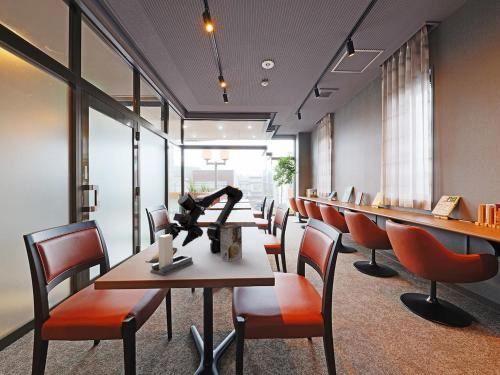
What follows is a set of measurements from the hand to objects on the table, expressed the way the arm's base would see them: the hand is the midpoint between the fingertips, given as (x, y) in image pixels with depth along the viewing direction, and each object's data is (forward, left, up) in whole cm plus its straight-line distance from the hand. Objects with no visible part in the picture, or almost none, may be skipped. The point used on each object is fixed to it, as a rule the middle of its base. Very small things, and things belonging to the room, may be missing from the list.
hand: (175, 244), depth 106 cm
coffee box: (-27, 0, -10) cm, 29 cm away
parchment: (+3, -21, -10) cm, 24 cm away
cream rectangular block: (+4, +3, -9) cm, 10 cm away
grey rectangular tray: (+1, +1, -10) cm, 10 cm away
